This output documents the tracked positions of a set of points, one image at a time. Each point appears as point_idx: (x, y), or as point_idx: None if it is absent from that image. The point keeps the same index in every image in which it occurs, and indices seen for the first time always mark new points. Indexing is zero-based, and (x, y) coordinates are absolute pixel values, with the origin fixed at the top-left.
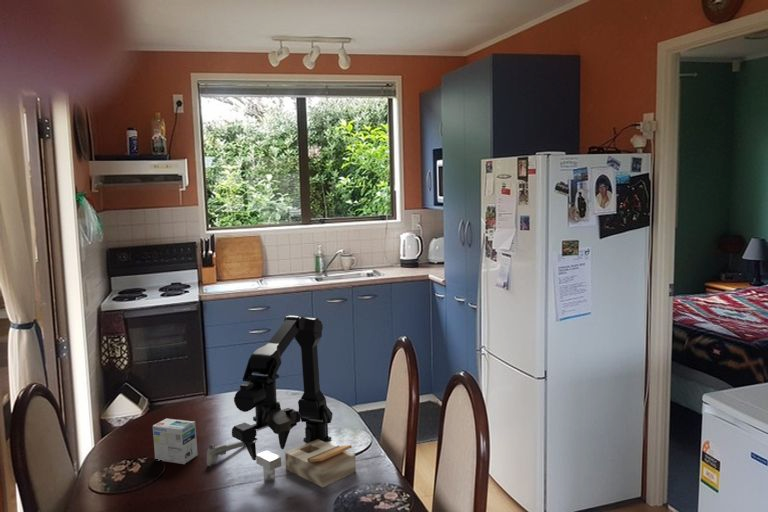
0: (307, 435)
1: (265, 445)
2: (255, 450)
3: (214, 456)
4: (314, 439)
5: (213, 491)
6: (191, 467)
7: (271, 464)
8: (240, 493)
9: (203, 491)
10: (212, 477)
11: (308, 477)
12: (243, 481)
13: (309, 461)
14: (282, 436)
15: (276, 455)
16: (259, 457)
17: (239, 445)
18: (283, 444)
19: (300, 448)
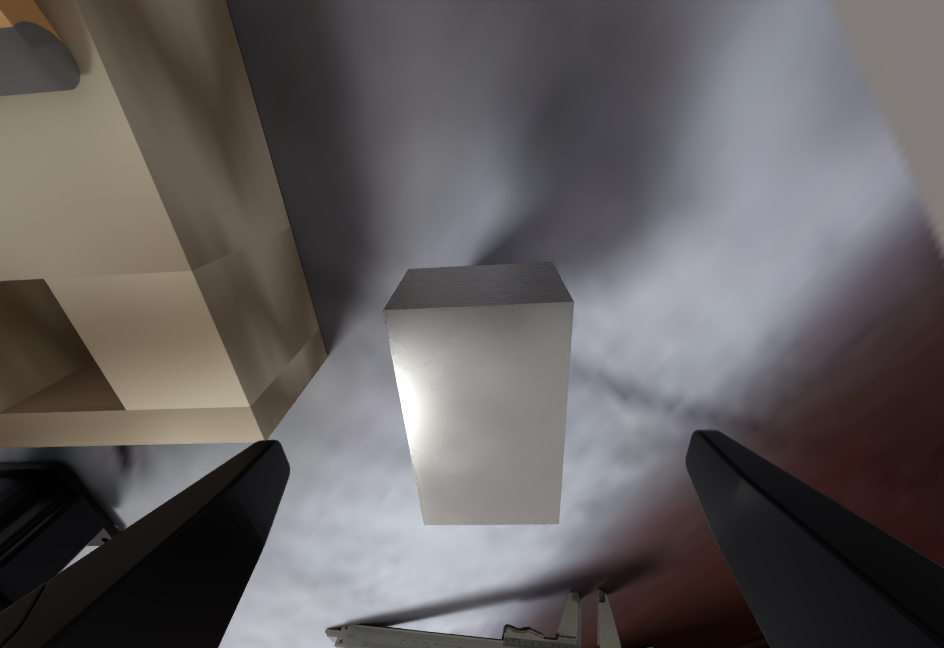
0: (60, 547)
1: (309, 589)
2: (857, 559)
3: (577, 636)
4: (42, 503)
5: (788, 418)
6: (653, 619)
7: (540, 285)
8: (728, 292)
9: (813, 449)
10: (668, 522)
11: (231, 77)
12: (602, 402)
13: (52, 37)
14: (130, 646)
15: (407, 382)
16: (559, 471)
17: (417, 641)
18: (227, 485)
19: (111, 416)
